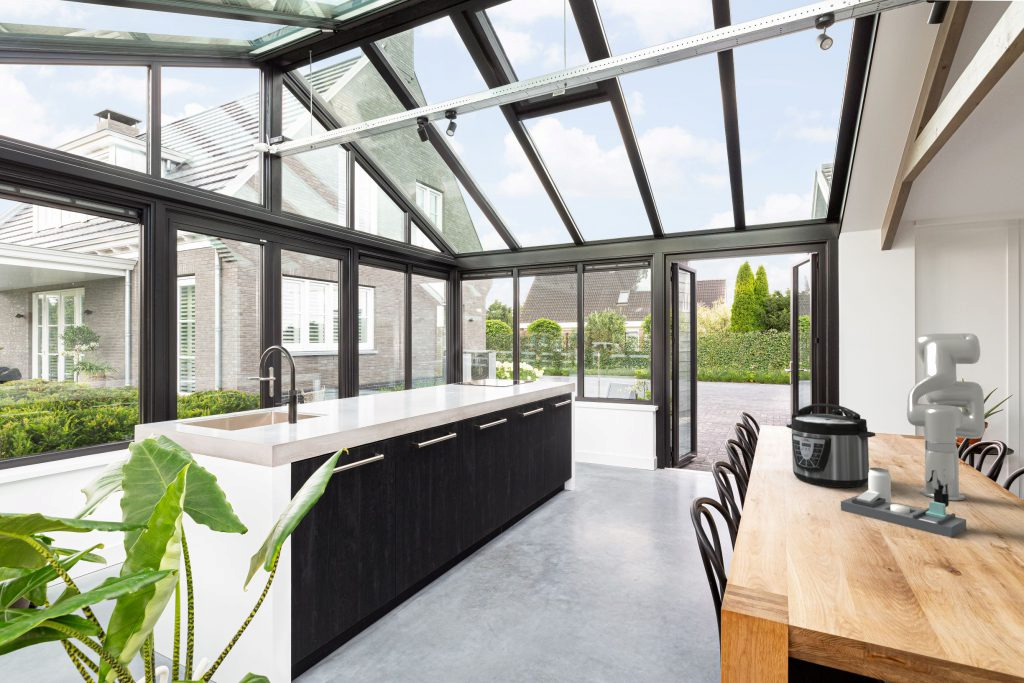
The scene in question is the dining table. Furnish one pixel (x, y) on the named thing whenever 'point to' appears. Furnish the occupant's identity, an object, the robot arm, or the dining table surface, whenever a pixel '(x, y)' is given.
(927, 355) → the robot arm
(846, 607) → the dining table surface
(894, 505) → the push button
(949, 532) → the control panel
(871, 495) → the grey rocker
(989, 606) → the dining table surface
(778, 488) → the dining table surface
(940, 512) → the teal slide switch
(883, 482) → the can
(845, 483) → the pressure cooker
